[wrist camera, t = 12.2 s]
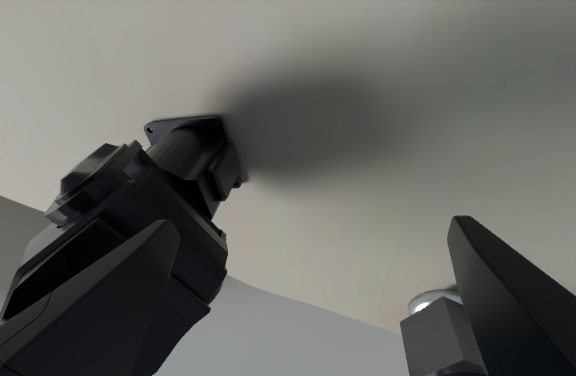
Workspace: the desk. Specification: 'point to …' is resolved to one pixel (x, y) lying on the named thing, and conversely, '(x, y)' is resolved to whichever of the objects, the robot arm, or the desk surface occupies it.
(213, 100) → the desk surface
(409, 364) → the grey cylinder on block
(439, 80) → the desk surface
